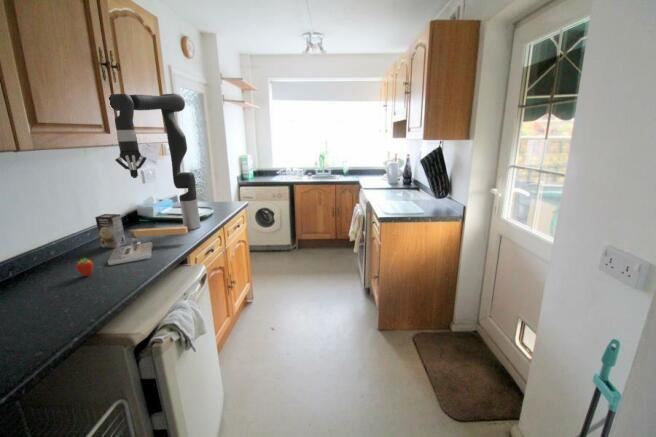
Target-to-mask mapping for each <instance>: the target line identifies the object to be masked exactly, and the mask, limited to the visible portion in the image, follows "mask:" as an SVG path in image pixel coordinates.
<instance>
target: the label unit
mask: <svg viewBox="0 0 656 437" xmlns="http://www.w3.org/2000/svg"><path fill="white" fill-rule="evenodd" d="M153 247H154V246H153V242H145V243H141V244H137V245H131V246H130V245H123V246H120V247H117V248H114V247H113V248H114V249H113V250H112V253H111V254H110V256H109V258H108V260H107V263H108V266H113V265H119V264H125V263H131V262H137V261H141V260H143V261H144V260H149V259H151V258H152V253H153V252H152V251H153Z"/></svg>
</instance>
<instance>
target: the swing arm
mask: <svg viewBox="0 0 656 437" xmlns="http://www.w3.org/2000/svg"><path fill="white" fill-rule="evenodd" d="M187 233H188V230H187V227H184V226H174V227H173V226H172V227H171V226H170V227H155V228H153V227H152V228H134V229H133V228H132V229H129V230H128V235H129V237H130V238H131V237H137V238H138V237H151V236H152V237H153V236H172V235H186V234H187Z"/></svg>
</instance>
